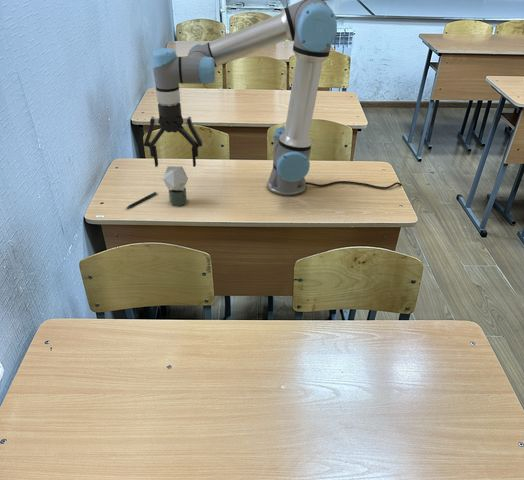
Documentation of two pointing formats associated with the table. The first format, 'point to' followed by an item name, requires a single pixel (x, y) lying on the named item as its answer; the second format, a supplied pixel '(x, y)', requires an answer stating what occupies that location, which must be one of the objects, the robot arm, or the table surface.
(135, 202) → the pen
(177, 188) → the die
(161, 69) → the robot arm
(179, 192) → the cup
